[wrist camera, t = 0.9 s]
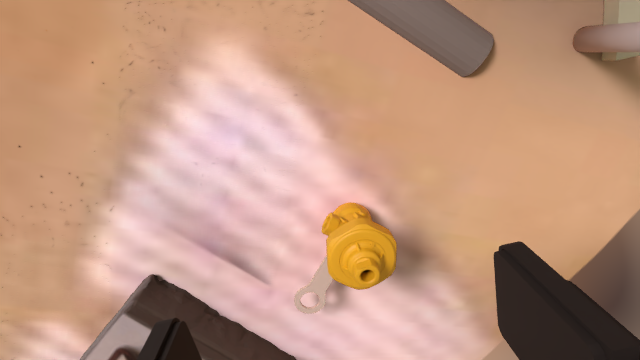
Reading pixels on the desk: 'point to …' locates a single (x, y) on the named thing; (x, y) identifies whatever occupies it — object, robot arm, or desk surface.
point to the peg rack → (613, 32)
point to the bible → (173, 302)
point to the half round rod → (434, 30)
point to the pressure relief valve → (351, 254)
